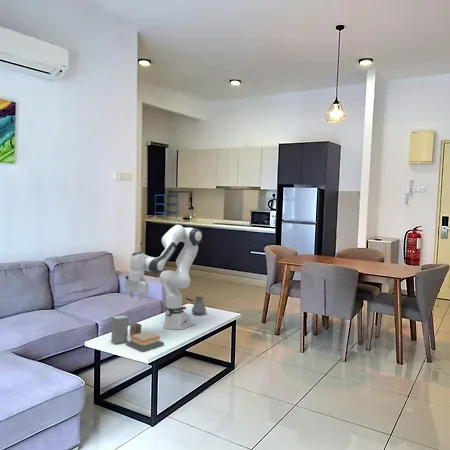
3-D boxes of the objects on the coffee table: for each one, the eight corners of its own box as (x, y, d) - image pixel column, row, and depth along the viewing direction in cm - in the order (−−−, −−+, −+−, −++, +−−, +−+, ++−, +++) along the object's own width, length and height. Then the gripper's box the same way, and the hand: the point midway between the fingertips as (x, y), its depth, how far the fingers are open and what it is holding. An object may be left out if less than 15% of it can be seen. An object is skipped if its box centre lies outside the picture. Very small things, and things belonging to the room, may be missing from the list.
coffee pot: (198, 311, 335) (198, 292, 334) (209, 313, 328) (209, 295, 327) (179, 316, 319) (179, 296, 318) (190, 319, 311) (190, 299, 311)
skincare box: (115, 344, 252) (115, 319, 251) (110, 341, 258) (111, 316, 257) (128, 342, 257) (128, 317, 256) (123, 339, 263) (124, 314, 262)
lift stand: (147, 339, 264) (147, 329, 263) (163, 345, 253) (164, 335, 253) (126, 345, 252) (126, 335, 251) (142, 352, 241) (143, 342, 241)
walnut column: (136, 334, 272) (136, 322, 271) (141, 336, 268) (141, 324, 268) (129, 336, 268) (130, 324, 267) (134, 338, 264) (135, 326, 264)
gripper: (151, 279, 262) (150, 301, 262) (131, 274, 275) (130, 295, 275) (143, 280, 257) (142, 302, 257) (123, 275, 270) (122, 296, 271)
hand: (136, 298), depth 267 cm, fingers open, 8 cm apart
